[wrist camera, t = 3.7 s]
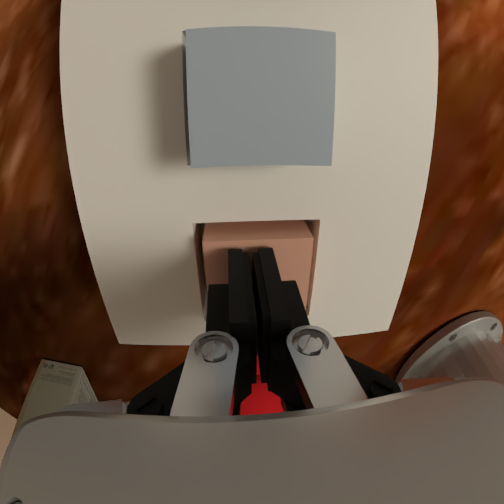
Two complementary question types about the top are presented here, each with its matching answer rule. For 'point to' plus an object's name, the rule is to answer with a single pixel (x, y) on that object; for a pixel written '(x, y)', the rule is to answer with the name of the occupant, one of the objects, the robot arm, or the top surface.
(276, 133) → the slate button
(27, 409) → the skincare box
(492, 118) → the top surface
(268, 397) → the cap
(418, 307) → the top surface
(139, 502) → the robot arm
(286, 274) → the terracotta button
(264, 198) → the button panel
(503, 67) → the top surface
